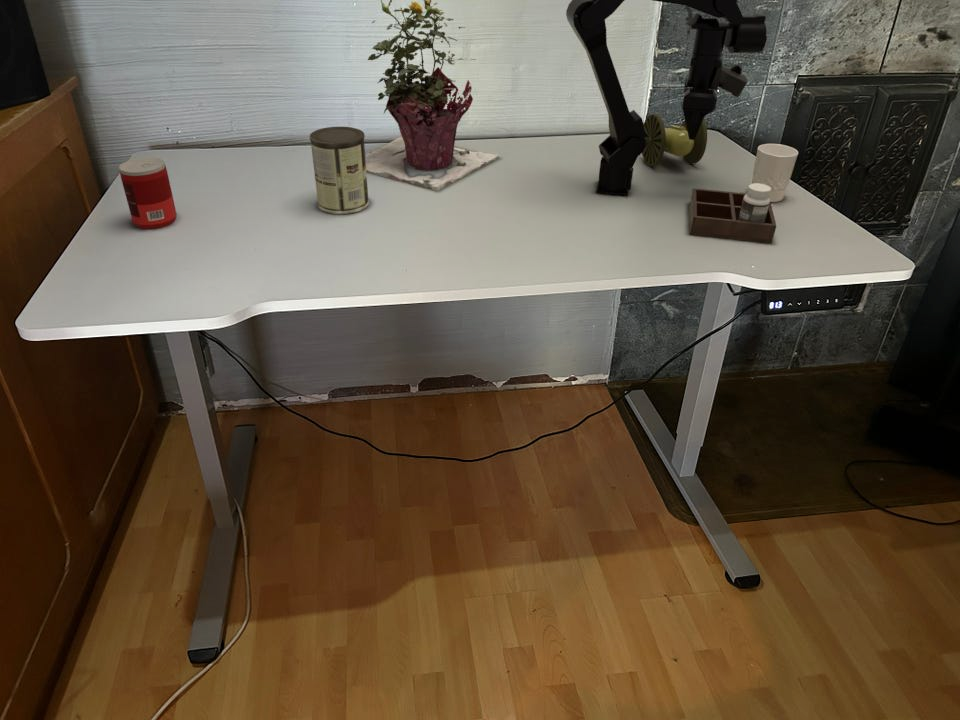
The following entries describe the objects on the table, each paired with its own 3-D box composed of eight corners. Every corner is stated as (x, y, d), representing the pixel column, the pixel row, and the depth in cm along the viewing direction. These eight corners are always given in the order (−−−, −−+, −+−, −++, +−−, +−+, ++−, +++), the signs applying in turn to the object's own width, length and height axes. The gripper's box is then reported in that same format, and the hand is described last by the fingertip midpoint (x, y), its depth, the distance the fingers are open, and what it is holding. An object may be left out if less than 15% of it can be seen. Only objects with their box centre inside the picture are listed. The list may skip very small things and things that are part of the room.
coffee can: (336, 191, 155) (329, 123, 147) (378, 200, 152) (374, 131, 144) (306, 208, 147) (298, 137, 139) (350, 218, 144) (344, 146, 136)
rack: (689, 234, 141) (693, 216, 139) (689, 204, 153) (692, 187, 151) (771, 243, 138) (776, 225, 136) (764, 212, 150) (769, 195, 148)
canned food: (186, 215, 143) (173, 160, 137) (158, 232, 137) (144, 174, 131) (152, 209, 145) (139, 154, 139) (124, 225, 139) (108, 168, 133)
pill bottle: (732, 223, 143) (742, 182, 139) (756, 223, 144) (766, 182, 139) (742, 234, 140) (752, 192, 135) (766, 234, 140) (777, 191, 135)
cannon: (615, 139, 186) (621, 93, 180) (659, 137, 189) (666, 91, 182) (657, 175, 166) (665, 124, 160) (706, 172, 169) (716, 121, 162)
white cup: (788, 205, 154) (801, 158, 148) (748, 201, 155) (760, 154, 149) (783, 191, 160) (795, 145, 154) (745, 187, 161) (756, 142, 156)
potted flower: (498, 158, 173) (504, -8, 154) (437, 190, 156) (435, 9, 136) (407, 136, 185) (401, -21, 165) (341, 164, 168) (325, -7, 148)
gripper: (752, 67, 136) (733, 151, 145) (747, 46, 151) (731, 123, 160) (689, 62, 138) (675, 145, 147) (691, 41, 153) (678, 118, 162)
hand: (692, 132), depth 154 cm, fingers open, 9 cm apart
